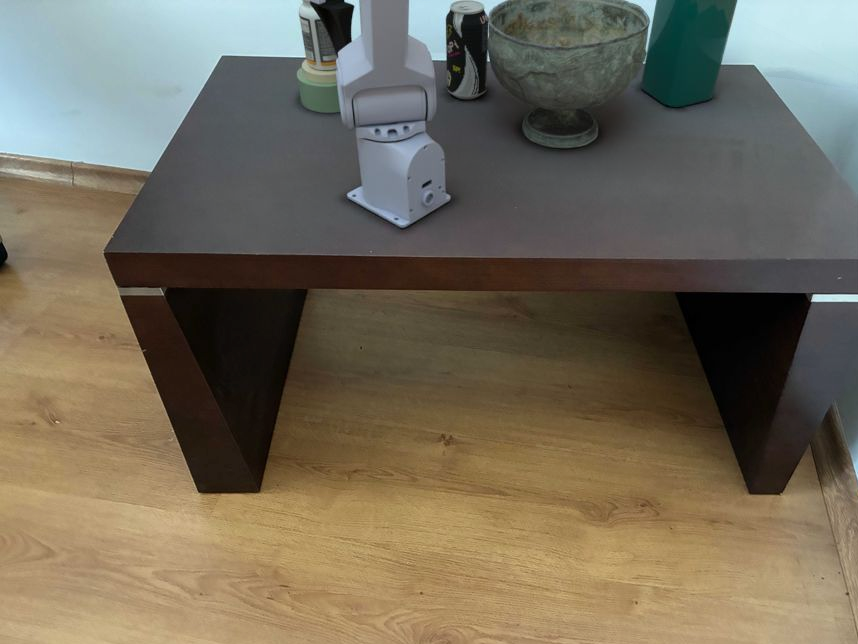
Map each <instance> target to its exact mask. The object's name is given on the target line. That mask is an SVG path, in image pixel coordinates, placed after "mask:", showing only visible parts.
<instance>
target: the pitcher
mask: <svg viewBox="0 0 858 644" xmlns="http://www.w3.org/2000/svg"><path fill="white" fill-rule="evenodd" d="M738 2H739V1H738V0H656V1H655V5H654V10H653V17H652V23H651V28H650V34H649V40H648V45H647V49H646V57H645V61H644V65H643V66H644V67H643V73H642V78H641V83H640V86H641V89H642V91H644V92H645V93H646V94H648V95H650V97H652V98H654V99H655V100H656V101H658V102H659V103H661V104H662V105H665V106H667V107H670V108H682V107H685V106H690V105H694V104H698V103H702V102H707V101H709V100H711V99H712V98H713V97H714V95H715V90H716V86H717V82H718V79H719V75H720V71H721V67H722V63H723V59H724V55H725V51H726V47H727V43H728V39H729V36H730V32H731V28H732V23H733V21H734V16H735V12H736V8H737V4H738Z"/></svg>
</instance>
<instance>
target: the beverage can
mask: <svg viewBox="0 0 858 644" xmlns="http://www.w3.org/2000/svg"><path fill="white" fill-rule="evenodd" d="M488 16H489V15H488V14H487V13H486V11H485V5H484V3H482V2H480V1H477V0H457V1H454V2H452V3H451V4H450V5H449V11H448V13H447V14H446V16H445V44H446V45H445V51H446V52H445V54H446V57H445V58H446V61H445V62H446V90H447V92H448V93H449V94H451V95H452V96H454V97H455V98H456V99H457V98H458V99H460V100H473V99H474V100H475V99H477V98H478V97H480V96H482V95H483V94H485V93H486V92H487V89H488V60H489V54H488V45H487V43H488V37H489V23H488Z"/></svg>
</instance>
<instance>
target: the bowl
mask: <svg viewBox="0 0 858 644" xmlns="http://www.w3.org/2000/svg"><path fill="white" fill-rule="evenodd" d="M487 16H488V43H487V45H488V60H489V63H490V68H491V70H492V72H493V75H494V77H495V78H496V80H497V81H498V83H499V85H500V86H502V88H504V89H505V90H506V91H507V92H509V93H510V95H512V96H514V97H515V98H516V99H518V100H520V101H521V102H523V103H525V104H528V105H532V106H535V108H532V110H530V111H529V112H528V113H527V114H526V115H525V116H524V118H523V121H522V124H521V125H522V127H521V128H522V132H523V135H524V136H525V137H526V138H527V139H528V140H529V141H531V142H533V143H535V144H536V145H537V144H538V145H540V146H542V147H547V148H552V149H553V148H554V149H571V148H579V147H583V146H586V145H588V144H590V143H592V142H593V141H594V140H596V138H597V137H598V134H599V125H598V122H597V120H596V119H595V118H594V116H592V115H591V114H590V113H589V112H588V111H585V110H584V109H591V108H596V107H599V106H601V105H603V104H605V103H607V102H609V101H611V100H612V99H614V98H616V97H618V96H620V95H621V94H622V93H623V92H624V91H626V89H628V87H629V86H631V84H632V82H633V81H634V80H635V79H636V78H637V76H638V75H639V73H640V71H641V69H642V67H643V66H644V63H645V61H646V55H647V49H646V48H647V43H648V36H649V35H648V34H649V27H650V24H651V20H650V16H649V15H648V13H647V12H646V11H645V10H644V8H643V7H642V6H640V5H639V4H637V3H633V2H630V1H628V0H504V1H502V2H500V3H498V4H497V5H495V6H493V8H492V9H491V10H490V11H489V13H488V15H487Z"/></svg>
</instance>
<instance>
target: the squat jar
mask: <svg viewBox="0 0 858 644" xmlns="http://www.w3.org/2000/svg"><path fill="white" fill-rule="evenodd" d="M336 71H337V69H334V70H317V69H314V68H312V67H310V66H309V65H308V63H307V60H306V59H304V60H303V62H302V63H301V67H299V69H298V70H297V72H296V81H297V85H298V86H297V87H298V91H299V97H300V103H301V105H302V106H303V107H304V108H306V109H308V110H309V111H312V112H315V113H316V112H317V113H323V114H336V113H341V110H340V104H339V97H338V90H337V82H336Z"/></svg>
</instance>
